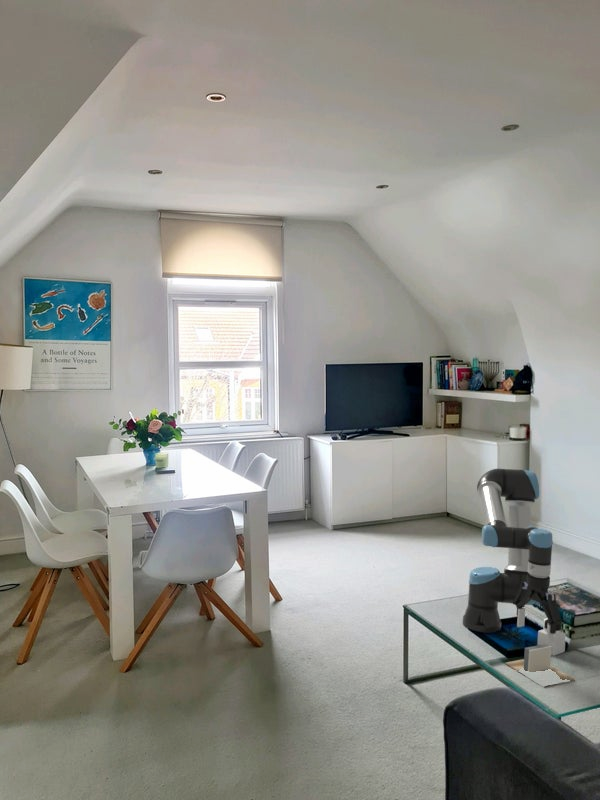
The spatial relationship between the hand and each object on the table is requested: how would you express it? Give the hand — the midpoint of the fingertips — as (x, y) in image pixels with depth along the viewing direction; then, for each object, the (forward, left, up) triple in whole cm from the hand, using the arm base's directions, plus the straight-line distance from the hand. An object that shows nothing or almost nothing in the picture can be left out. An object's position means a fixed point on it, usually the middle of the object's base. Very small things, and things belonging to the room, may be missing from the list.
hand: (534, 634), depth 227 cm
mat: (+3, 0, -12) cm, 13 cm away
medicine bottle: (-9, +18, -13) cm, 23 cm away
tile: (+2, 0, -12) cm, 12 cm away
